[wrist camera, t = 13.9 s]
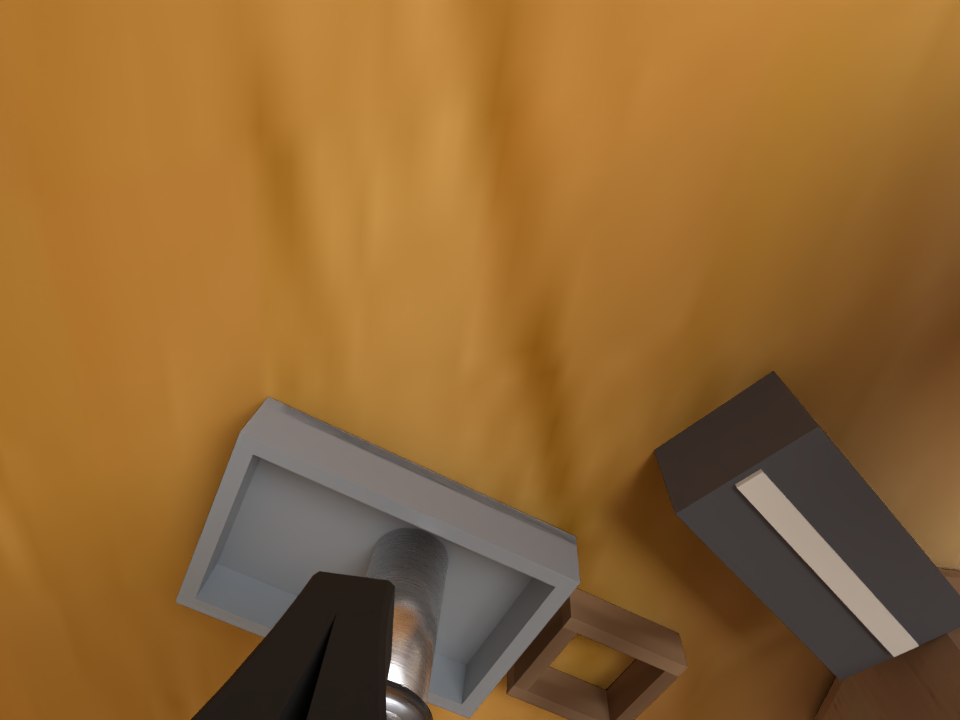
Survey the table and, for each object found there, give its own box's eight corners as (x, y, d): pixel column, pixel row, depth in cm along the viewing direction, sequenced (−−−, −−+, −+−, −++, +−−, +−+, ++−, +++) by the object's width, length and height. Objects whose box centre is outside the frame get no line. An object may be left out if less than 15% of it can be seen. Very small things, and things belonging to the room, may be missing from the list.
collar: (679, 633, 24) (688, 667, 22) (610, 703, 26) (615, 738, 24) (568, 585, 23) (571, 617, 22) (507, 660, 25) (506, 694, 24)
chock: (912, 537, 21) (982, 622, 18) (797, 596, 23) (842, 685, 20) (770, 367, 19) (821, 428, 16) (652, 446, 20) (676, 517, 17)
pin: (475, 562, 22) (457, 748, 16) (413, 607, 23) (372, 799, 17) (408, 505, 21) (361, 677, 15) (347, 555, 22) (277, 735, 16)
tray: (575, 536, 22) (580, 582, 20) (473, 668, 26) (469, 718, 24) (268, 396, 20) (240, 432, 18) (204, 558, 24) (175, 602, 22)
